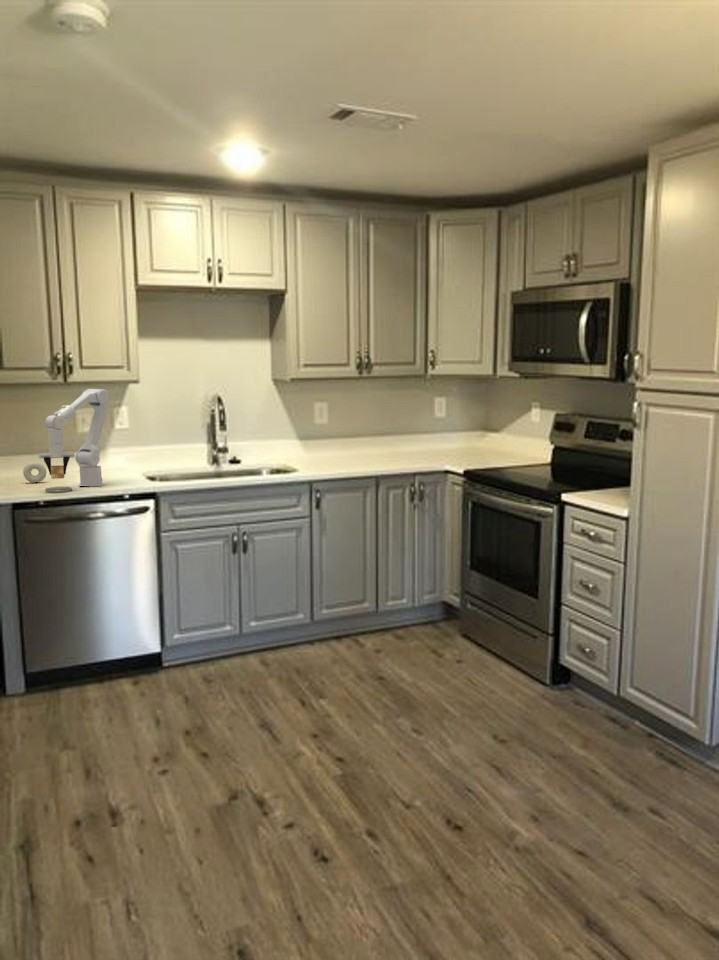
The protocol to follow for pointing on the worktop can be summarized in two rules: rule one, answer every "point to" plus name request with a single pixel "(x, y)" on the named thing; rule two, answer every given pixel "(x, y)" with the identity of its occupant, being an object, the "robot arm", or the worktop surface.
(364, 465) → the worktop surface
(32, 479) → the donut
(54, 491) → the plate
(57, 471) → the cube
